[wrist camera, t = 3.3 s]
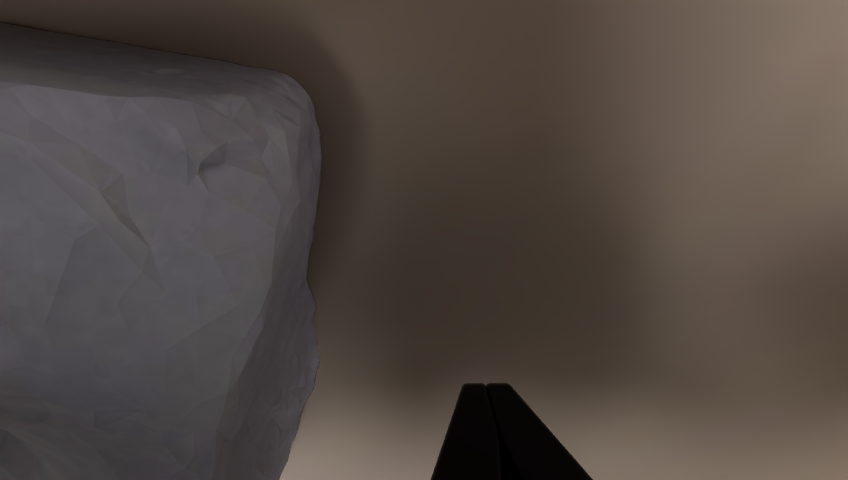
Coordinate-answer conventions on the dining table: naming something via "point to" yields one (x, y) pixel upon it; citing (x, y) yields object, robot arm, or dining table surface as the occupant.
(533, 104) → the dining table surface
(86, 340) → the stone block
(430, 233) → the dining table surface
